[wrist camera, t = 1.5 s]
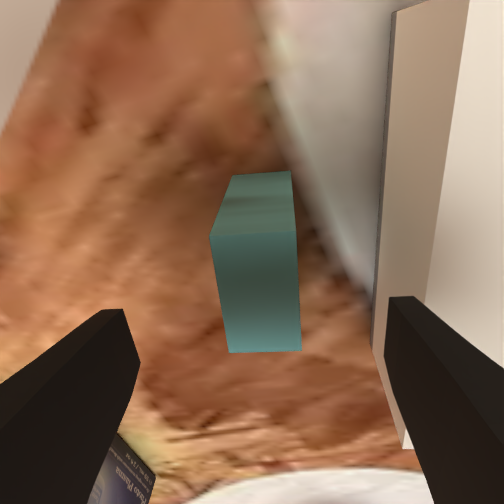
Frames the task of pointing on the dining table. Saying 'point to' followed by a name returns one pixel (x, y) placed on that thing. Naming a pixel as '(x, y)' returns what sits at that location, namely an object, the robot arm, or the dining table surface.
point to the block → (258, 263)
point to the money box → (443, 175)
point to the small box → (122, 478)
